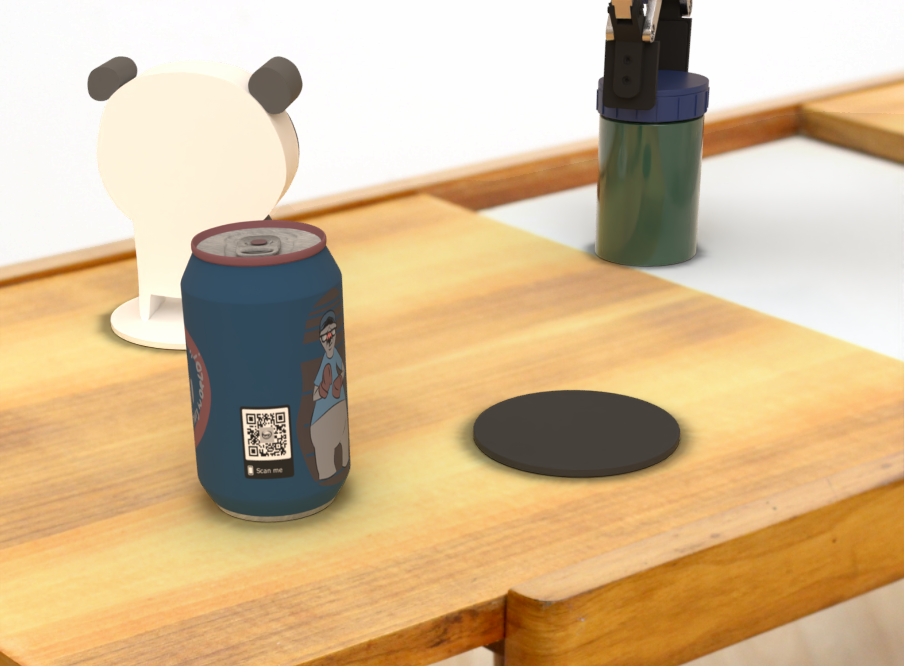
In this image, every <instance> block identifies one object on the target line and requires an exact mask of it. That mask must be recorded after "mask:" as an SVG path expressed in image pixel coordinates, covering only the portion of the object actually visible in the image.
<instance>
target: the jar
mask: <svg viewBox="0 0 904 666" xmlns="http://www.w3.org/2000/svg"><path fill="white" fill-rule="evenodd" d="M705 115H706V113H705V114H703V115H701V116H699V117H695V118H691V119H686V120H679V121H668V122H636V121H625V120H618V119H613V118H608V117H605V116H603V115H601V114H599V116H598V140H597V142H598V145H597V173H596V174H597V175H596V181H597V182H596V207H595V208H596V209H595V238H594V252H595V255H596V256H597V257H599V258H600V259H602V260H605V261H606V262H607V261H608V262H611V263H614V264H619V265H625V266H633V267H635V266H636V267H660V266H661V267H662V266H669V265H675V264H679V263H683V262H686V261H688V260H691V259H692V258H694V257H695V256H696V254H697V246H698V245H697V243H698V230H699V229H698V226H699V213H700V211H699V210H700V195H701V178H702V163H703V148H704V147H703V146H704V132H705V131H704V130H705Z"/></svg>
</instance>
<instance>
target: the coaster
mask: <svg viewBox="0 0 904 666" xmlns="http://www.w3.org/2000/svg"><path fill="white" fill-rule="evenodd" d="M472 429H473V432H472V435H473V441H474V443H475V445H476V447H477V448H478V449H479V450H480V451H481V452H482V453H483V454H485V455H486V456H488V457H489V458H490V459H492V460H495V461H496V462H498V463H499V464H503V465H505V466H507V467H510V468H513V469H517V470H521V471H525V472H528V473H533V474H540V475H545V476H555V477H567V478H569V477H571V478H593V477H606V476H614V475H621V474H626V473H631V472H635V471H639V470H642V469H645V468H649V467H651V466H653V465H656V464H658V463H660V462H662V461H663V460H665V459H667V458H668V457H669V456H671V455H672V454H673V453H674V452H675V451H676V449H677V448H678V446H679V443H680V440H681V428H680V425H679V423H678V421H677V419H676V418H675V417H674V416H673V415H672V414H670V412H668V411H667V410H665V409H664V408H662V407H660V406H658V405H656V404H654V403H651V402H649V401H647V400H645V399H644V400H643V399H640V398H638V397H634V396H630V395H626V394H620V393H615V392H608V391H602V390H588V389H587V390H586V389H557V390H546V391H539V392H537V391H536V392H532V393H526V394H522V395H517V396H513V397H509V398H507V399H504V400H501V401H499V402H497V403H495V404H493V405H491V406H489V407H487V408H486V409H485V410H483V411H482V412H480V414H479V415H478V416H477V417H476V419H475V421H474V423H473V428H472Z"/></svg>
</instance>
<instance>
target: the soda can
mask: <svg viewBox="0 0 904 666" xmlns="http://www.w3.org/2000/svg"><path fill="white" fill-rule="evenodd" d="M327 241H328V239H327V234H326V232H325V231H324V230H323V229H322V228H320V227H318V226H316V225H312V224H310V223H305V222H301V221H293V220H285V219H272V220H256V221H245V222H237V223H231V224H226V225H221V226H217V227H214V228H210V229H207V230H205V231H202V232H200V233H198V234H197V235H195V236H194V237H193V239H192V241H191V250H192V254H191V256H190V259H189V261H188V264H187V266H186V268H185V271H184V273H183V276H182V279H181V283H180V286H181V297H182V308H183V319H184V330H185V342H186V350H185V351H186V362H187V375H188V383H189V396H190V406H191V407H190V409H191V417H192V430H193V439H194V440H193V441H194V448H195V449H194V451H195V452H194V453H195V462H196V472H197V473H196V474H197V478H198V480H199V483H200V484H201V486H202V488H203V489H204V491H205V492H206V493H207V494H208V496H209V497H210V498H211V500H212V501H213V503H215V505H216V506H217V507H218V508H219V510H221V511H222V512H224V513H225V514H228V515H229V516H231V517H234V518H237V519H240V520H246V521H250V522H252V521H253V522H262V523H264V522H265V523H268V522H270V523H273V522H274V523H275V522H286V521H292V520H297V519H301V518H306V517H309V516H312V515H314V514H317V513H319V512H321V511H323V510H324V509H325V508H327V507H329V506H330V505H331V504H332V503H333V502H334V501H335V499H336V497H337V496H338V494H339V492H340V490H341V489H342V487H343V485H344V484H345V482H346V480H347V478H348V476H349V474H350V470H351V466H352V464H351V444H350V422H349V399H348V378H347V374H348V373H347V353H346V332H345V310H344V291H343V289H344V288H343V286H344V285H343V274H342V271H341V268H340V267H339V265H338V263H337V261H336V260H335V258H334V256H333V254H332V253H331V251H330V249H329V247H328V246H327Z"/></svg>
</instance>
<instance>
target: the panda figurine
mask: <svg viewBox="0 0 904 666" xmlns="http://www.w3.org/2000/svg"><path fill="white" fill-rule="evenodd" d="M303 86H304V85H303V79H302V75H301V73H300V70H299V68H298V67H297V65H296V64H295V63H294V62H293V61H291V60H290V59H288V58H286V57H283V56H279V55H277V56H273V57H271V58H270V59H268V60H267V61H266V62H265V63H264V64H263V65H261V66H259V68H258V69H256V70H255V71H254V72H253V73H252V72H251V71H249V70H247V69H245V68H243V67H240V66H237V65H234V64H230V63H225V62H220V61H213V60H202V59H201V60H200V59H199V60H198V59H197V60H196V59H194V60H180V61H179V60H178V61H172V62H167V63H161V64H158V65H155V66H152V67H150V68H148V69H146V70H144V71H143V72H142V73H140V74H139V75H138V66H137V64H136V62H135V61H134V60H133V59H132V58H131V57H128V56H115V57H113V58H110V59H108V60H106V61H105V62H104V63H102V64H100V65H99V66H97V67H95V68H93V69H92V70H91V71H90V72H89V74H88V77H87V92H88V95H89V97H90V98H91V99H92V100H94V101H96V102H105V101H106V103H105V105H104V108H103V109H102V110H103V111H102V114H101V117H100V122H99V125H98V132H97V137H96V138H97V139H96V164H97V169H98V173H99V177H100V180H101V183H102V186H103V187H104V190H105V191H106V193H107V195H108V197H109V198H110V200H111V201H112V203H113V205H114V206H115V207H116V208H117V209H118V210H119V212H121V214H123V215H124V216H125V217H126V218H128V219H129V220H131V222H132V227H133V236H134V246H135V255H136V265H137V277H138V278H137V279H138V296H136V297H134V298H132V299H129V300H127V301H126V302H123V303H122V304H120V305H119V306H118V307H117V308H115V310H114V311H113V312H112V314H111V315H110V325H111V330H112V331H113V332H114V334H115V335H116V336H118V337H120V338H121V339H123V340H125V341H127V342H130V343H133V344H136V345H140V346H146V347H149V348H157V349H165V350H183V351H184V350H185V351H186V342H185V330H184V319H183V308H182V297H181V286H180V283H181V279H182V276H183V273H184V271H185V268H186V266H187V264H188V261H189V259H190V256H191V254H192V250H191V241H192V239H193V237H194V236H195V235H197V234H198V233H200V232H202V231H205V230H207V229H210V228H214V227H217V226H221V225H226V224H231V223H237V222H245V221H256V220H273V218H272V217H271V216H270V213H271V212H272V211H273V210H274V208H276V206H277V205H278V203H279V202H280V201H281V200H282V199H283V197H284V196H285V195H286V193H287V192H288V191H289V189H290V187H291V186H292V184H293V181H294V180H295V177H296V175H297V172H298V170H299V163H300V142H299V137H298V133H297V129H296V127H295V125H294V122H293V120H292V118H291V116H290V115H289V113H288V112H287V109H288V108H289V107H290V106H291V105H292V104H293V103H294V101H296V100H297V99H298V98H299V96H300V94H301V93H302V91H303Z"/></svg>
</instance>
